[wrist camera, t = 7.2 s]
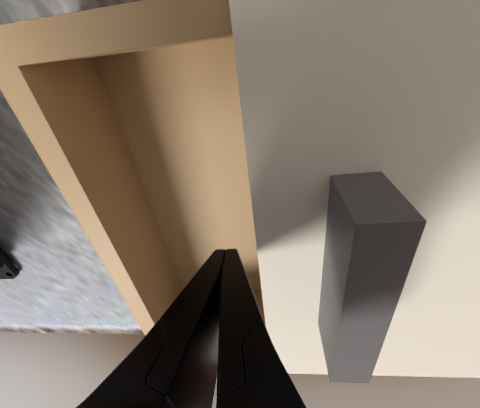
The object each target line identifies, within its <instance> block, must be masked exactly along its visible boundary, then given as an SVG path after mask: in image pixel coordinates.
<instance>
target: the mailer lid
mask: <svg viewBox="0 0 480 408" xmlns="http://www.w3.org/2000/svg"><path fill="white" fill-rule="evenodd" d="M229 7H230V16H231V25H232V33H233V42H234V51H235V60H236V69H237V78H238V87H239V95H240V104H241V113H242V122H243V131H244V140H245V148H246V157H247V166H248V175H249V184H250V193H251V202H252V210H253V219H254V228H255V237H256V246H257V255H258V263H259V272H260V281H261V290H262V299H263V308H264V317H265V325H266V329H267V331H268V334H269V336H270V339H271V341H272V343H273V345H274V347H275V349H276V352H277V354H278V356H279V358H280V360H281V361H282V363H283V365H284V367H285V369H286V371H287V373H291V374H294V373H295V374H328V375H329V380H330V382H351V383H369V382H370V379H371V377H372V375H377V376H379V375H380V376H420V377H421V376H422V377H463V378H480V0H229Z"/></svg>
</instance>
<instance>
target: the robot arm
mask: <svg viewBox="0 0 480 408" xmlns="http://www.w3.org/2000/svg"><path fill="white" fill-rule="evenodd" d="M17 275H19V271H18V269H17V268H16V267H15V266H14V265H13V264H12V263H11V261H10V260H9V259H8V258H7V257H6V256H5V254H4V253H3V252H2V251H1V250H0V279H14V278H15V277H16V276H17ZM216 377H217V405H216V408H306V406H305V404H304V403H303V401H302V399H301V397H300V395H299V393H298V392H297V390H296V388H295V386H294V384H293V382H292V380H291V378H290V377H289V375H288V373H287V371H286V369H285V367H284V365H283V363H282V361H281V360H280V358H279V356H278V354H277V352H276V349H275V347H274V345H273V343H272V341H271V339H270V336H269V334H268V331H267V329H266V326H265V323H264V321H263V319H262V316H261V313H260V310H259V307H258V305H257V302H256V299H255V297H254V294H253V291H252V288H251V286H250V283H249V280H248V278H247V275H246V272H245V269H244V267H243V264H242V261H241V259H240V256H239V253H238V250H237V249H236V248H234V249H227V250H225V249H216V250H215V251H214V252H213V253H212V254H211V255H210V257H209V258H208V259H207V260H206V262H205V263H204V264H203V265H202V267H201V268H200V269H199V270H198V272H197V273H196V274H195V275H194V277H193V278H192V279H191V280H190V281H189V283H188V284H187V285H186V286H185V288H184V289H183V290H182V291H181V293H180V294H179V295H178V296H177V298H176V299H175V300H174V301H173V303H172V304H171V305H170V306H169V308H168V309H167V310H166V311H165V313H164V314H163V315H162V316H161V317H160V320H158V321H157V322H156V324H155V325H154V326H153V327H152V329H151V330H150V331H149V332H148V333H147V334H146V336H145V337H144V338H143V339H142V340H141V342H140V343H139V344H138V345H137V346H136V347H135V348H134V349H133V350H132V352H131V353H130V354H129V355H128V356H127V357H126V358H125V359H124V360H123V361H122V362H121V363H120V364H119V365H118V366H117V367H116V368H115V369H114V370H113V371H112V373H111V374H110V375H109V376H108V377H107V378H106V379H105V380H104V381H103V382H102V383H101V384H100V385H99V386H98V387H97V388H96V389H95V390H94V391H93V392H92V393H91V394H90V395H89V396H88V397H87V398H86V399H85V400H84V401H83V402H82V403H81V404H80V405H79V406H77V407H76V408H212V402H213V395H214V389H215V384H216Z"/></svg>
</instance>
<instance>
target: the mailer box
mask: <svg viewBox="0 0 480 408" xmlns="http://www.w3.org/2000/svg"><path fill="white" fill-rule="evenodd" d="M0 90H1V91H2V93H3V95H4V97H5V98H6V100H7V102H8V103H9V105H10V107H11V108H12V110H13V112H14V114H15V115H16V117H17V119H18V120H19V122H20V124H21V125H22V127H23V129H24V131H25V132H26V134H27V136H28V137H29V139H30V141H31V142H32V144H33V146H34V147H35V149H36V151H37V153H38V154H39V156H40V158H41V159H42V161H43V163H44V164H45V166H46V168H47V170H48V171H49V173H50V175H51V176H52V178H53V180H54V181H55V183H56V185H57V186H58V188H59V190H60V192H61V193H62V195H63V197H64V198H65V200H66V202H67V203H68V205H69V207H70V209H71V210H72V212H73V214H74V215H75V217H76V219H77V220H78V222H79V224H80V226H81V227H82V229H83V231H84V232H85V234H86V236H87V237H88V239H89V241H90V242H91V244H92V246H93V248H94V249H95V251H96V253H97V254H98V256H99V258H100V259H101V261H102V263H103V265H104V266H105V268H106V270H107V271H108V273H109V275H110V276H111V278H112V280H113V281H114V283H115V285H116V287H117V288H118V290H119V292H120V293H121V295H122V297H123V298H124V300H125V302H126V304H127V305H128V307H129V309H130V310H131V312H132V314H133V315H134V317H135V319H136V320H137V322H138V324H139V326H140V327H141V329H142V331H143V332H144V334H145V336H146V334H147V333H148V332H149V331H150V330H151V329H152V327H153V326H154V325H155V324H156V322H157V321H158V320H160V317H161V316H162V315H163V314H164V313H165V311H166V310H167V309H168V308H169V306H170V305H171V304H172V303H173V301H174V300H175V299H176V298H177V296H178V295H179V294H180V293H181V291H182V290H183V289H184V288H185V286H186V285H187V284H188V283H189V281H190V280H191V279H192V278H193V277H194V275H195V274H196V273H197V272H198V270H199V269H200V268H201V267H202V265H203V264H204V263H205V262H206V260H207V259H208V258H209V257H210V255H211V254H212V253H213V252H214V251H215V250H216V249H225V250H227V249H234V248H236V249H237V250H238V253H239V256H240V259H241V261H242V264H243V267H244V269H245V272H246V275H247V278H248V280H249V283H250V286H251V288H252V291H253V294H254V297H255V299H256V302H257V305H258V307H259V310H260V313H261V316H262V319H263V321H264V323H265V317H264V308H263V299H262V290H261V281H260V272H259V263H258V255H257V246H256V237H255V228H254V219H253V210H252V202H251V193H250V184H249V175H248V166H247V157H246V148H245V140H244V131H243V122H242V113H241V104H240V95H239V87H238V78H237V69H236V60H235V51H234V42H233V33H232V25H231V16H230V7H229V0H141V1H135V2H130V3H124V4H118V5H112V6H107V7H101V8H95V9H89V10H83V11H78V12H72V13H66V14H60V15H55V16H49V17H43V18H37V19H32V20H26V21H20V22H14V23H9V24H3V25H0ZM265 326H266V325H265Z"/></svg>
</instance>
